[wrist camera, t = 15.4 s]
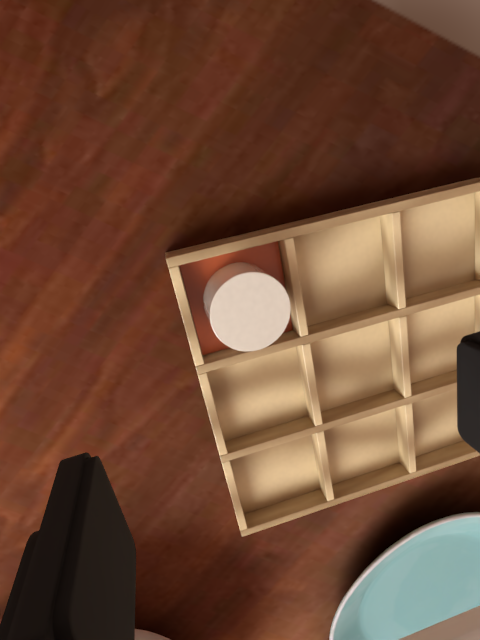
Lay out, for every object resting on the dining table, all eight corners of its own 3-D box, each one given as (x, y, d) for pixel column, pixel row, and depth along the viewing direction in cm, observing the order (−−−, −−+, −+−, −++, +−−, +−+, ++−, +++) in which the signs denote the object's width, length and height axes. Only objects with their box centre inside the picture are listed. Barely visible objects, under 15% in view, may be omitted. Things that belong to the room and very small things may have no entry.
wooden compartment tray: (164, 252, 25) (165, 258, 23) (475, 177, 28) (499, 177, 26) (236, 516, 33) (241, 537, 31) (474, 436, 35) (493, 451, 33)
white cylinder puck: (194, 272, 25) (201, 283, 22) (268, 254, 26) (283, 262, 23) (212, 341, 27) (220, 361, 24) (280, 323, 27) (296, 339, 24)
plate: (527, 466, 38) (556, 486, 35) (510, 624, 46) (532, 651, 43) (306, 534, 35) (319, 563, 32) (327, 692, 42) (339, 726, 40)
